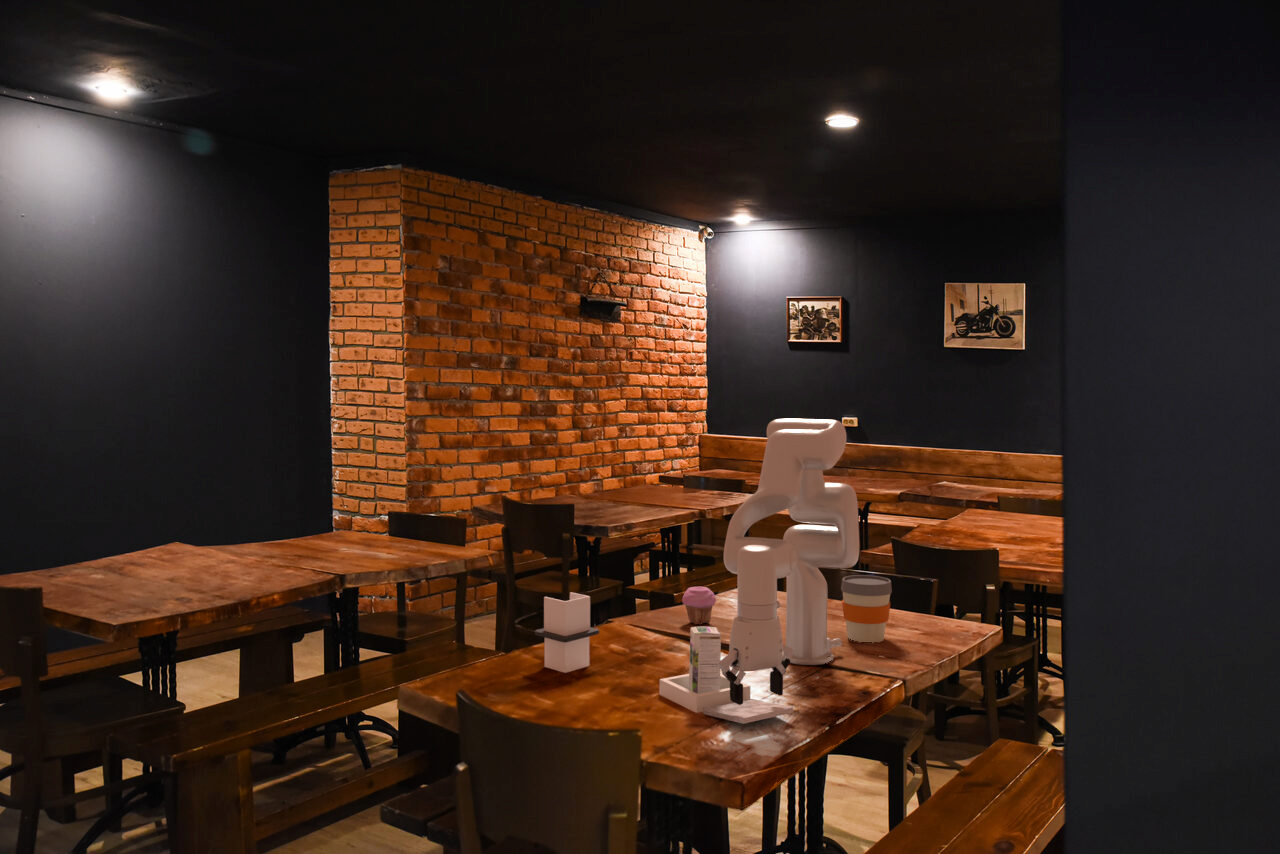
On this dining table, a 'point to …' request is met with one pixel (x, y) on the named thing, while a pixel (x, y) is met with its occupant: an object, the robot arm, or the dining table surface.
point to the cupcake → (699, 604)
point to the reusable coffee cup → (866, 606)
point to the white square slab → (748, 711)
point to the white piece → (681, 694)
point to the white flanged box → (567, 632)
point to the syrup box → (704, 659)
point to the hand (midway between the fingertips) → (756, 698)
